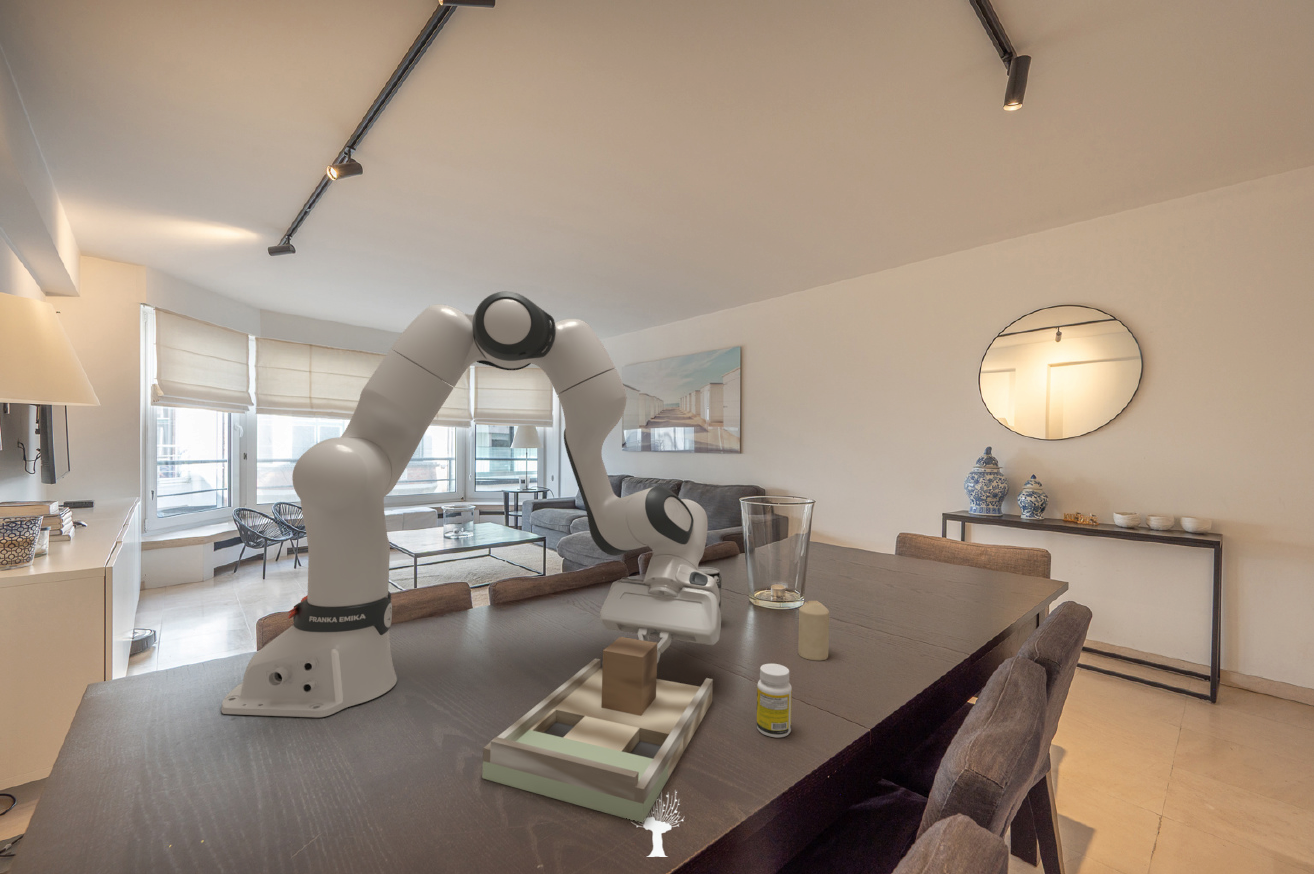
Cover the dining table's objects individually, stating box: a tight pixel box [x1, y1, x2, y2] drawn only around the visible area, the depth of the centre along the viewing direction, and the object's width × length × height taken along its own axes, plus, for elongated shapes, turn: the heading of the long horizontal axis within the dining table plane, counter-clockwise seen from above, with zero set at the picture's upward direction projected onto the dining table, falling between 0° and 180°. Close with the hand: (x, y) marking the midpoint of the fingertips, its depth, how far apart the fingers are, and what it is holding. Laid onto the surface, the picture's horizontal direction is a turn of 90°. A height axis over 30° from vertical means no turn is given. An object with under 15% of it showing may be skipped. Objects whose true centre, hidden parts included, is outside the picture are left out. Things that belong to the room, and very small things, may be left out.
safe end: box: [481, 730, 669, 823], centre depth 64 cm, size 8×20×2 cm, turn 70°
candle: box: [797, 600, 830, 662], centre depth 105 cm, size 6×6×10 cm
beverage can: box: [698, 566, 723, 613], centre depth 120 cm, size 7×7×12 cm
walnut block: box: [601, 636, 658, 716], centre depth 79 cm, size 6×6×8 cm
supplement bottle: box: [756, 663, 793, 739], centre depth 77 cm, size 5×5×8 cm
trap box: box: [482, 658, 714, 804], centre depth 74 cm, size 29×20×4 cm
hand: (647, 660), depth 86 cm, fingers closed
